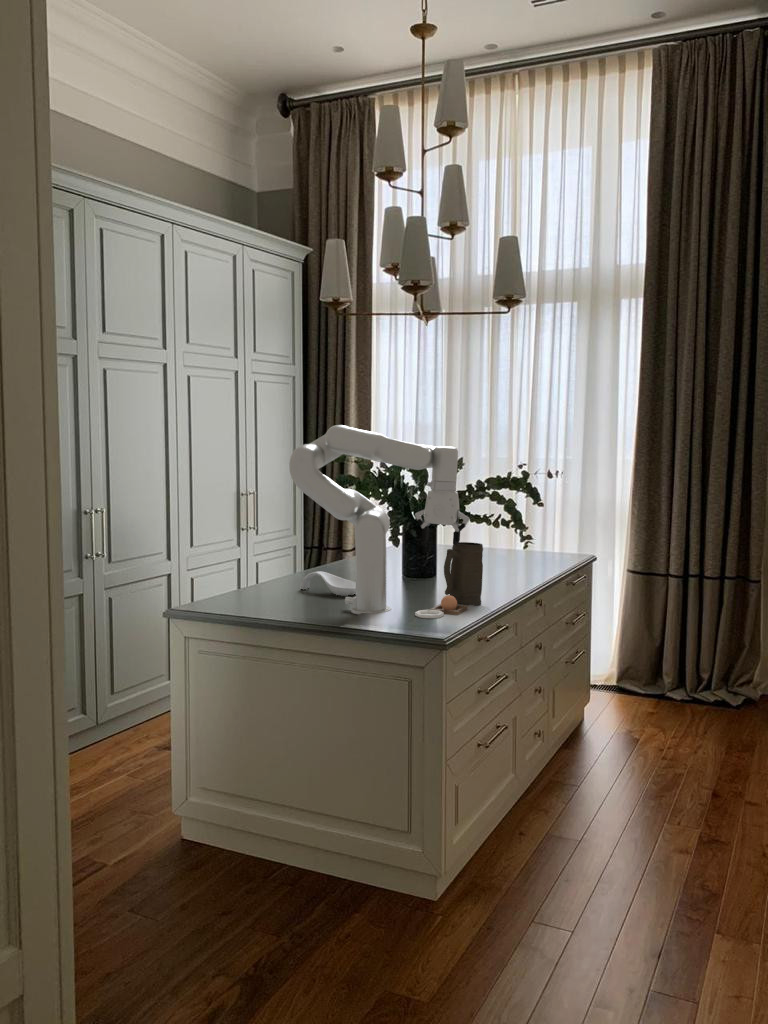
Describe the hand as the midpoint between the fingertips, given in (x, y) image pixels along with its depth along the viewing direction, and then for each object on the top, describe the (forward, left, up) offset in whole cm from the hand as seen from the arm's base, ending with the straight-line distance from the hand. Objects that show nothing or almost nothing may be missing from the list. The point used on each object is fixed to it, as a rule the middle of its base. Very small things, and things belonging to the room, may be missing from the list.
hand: (440, 542), depth 281 cm
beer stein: (+1, +17, -23) cm, 28 cm away
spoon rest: (-47, +18, -23) cm, 55 cm away
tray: (+2, +2, -22) cm, 22 cm away
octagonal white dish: (-1, -7, -22) cm, 23 cm away
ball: (+2, +2, -21) cm, 22 cm away
